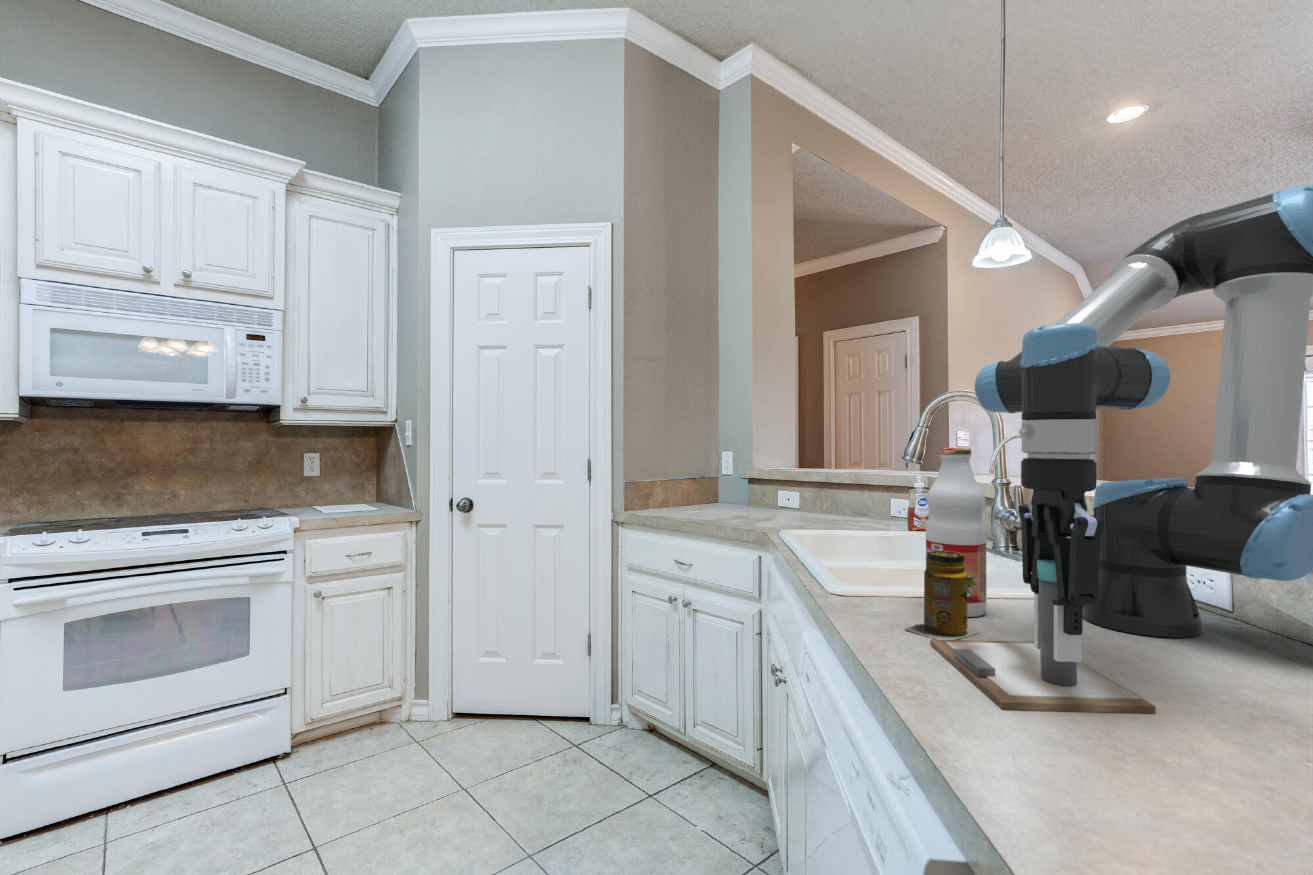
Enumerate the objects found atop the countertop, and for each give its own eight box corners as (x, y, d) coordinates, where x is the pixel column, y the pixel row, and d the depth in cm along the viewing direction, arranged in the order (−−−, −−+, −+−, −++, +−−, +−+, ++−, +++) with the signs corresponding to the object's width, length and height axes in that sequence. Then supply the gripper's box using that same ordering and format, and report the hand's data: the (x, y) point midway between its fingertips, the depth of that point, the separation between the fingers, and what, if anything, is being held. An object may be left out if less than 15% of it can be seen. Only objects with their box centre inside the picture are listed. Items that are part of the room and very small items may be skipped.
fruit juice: (999, 614, 104) (999, 448, 104) (956, 620, 100) (956, 448, 100) (954, 600, 112) (954, 447, 112) (913, 605, 109) (913, 447, 109)
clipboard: (1046, 647, 88) (1046, 633, 88) (1155, 713, 67) (1155, 696, 67) (930, 645, 89) (930, 631, 89) (1002, 709, 68) (1002, 692, 68)
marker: (1067, 674, 75) (1064, 559, 75) (1085, 687, 71) (1082, 565, 71) (1034, 673, 75) (1031, 559, 75) (1049, 686, 72) (1046, 565, 72)
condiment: (979, 633, 94) (979, 554, 94) (947, 643, 90) (947, 561, 90) (935, 621, 100) (935, 547, 100) (903, 630, 96) (903, 553, 96)
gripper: (992, 454, 82) (991, 631, 82) (1066, 458, 65) (1065, 680, 65) (1051, 454, 81) (1050, 632, 81) (1140, 459, 65) (1140, 682, 65)
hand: (1057, 653), depth 73 cm, fingers closed on marker, 3 cm apart
